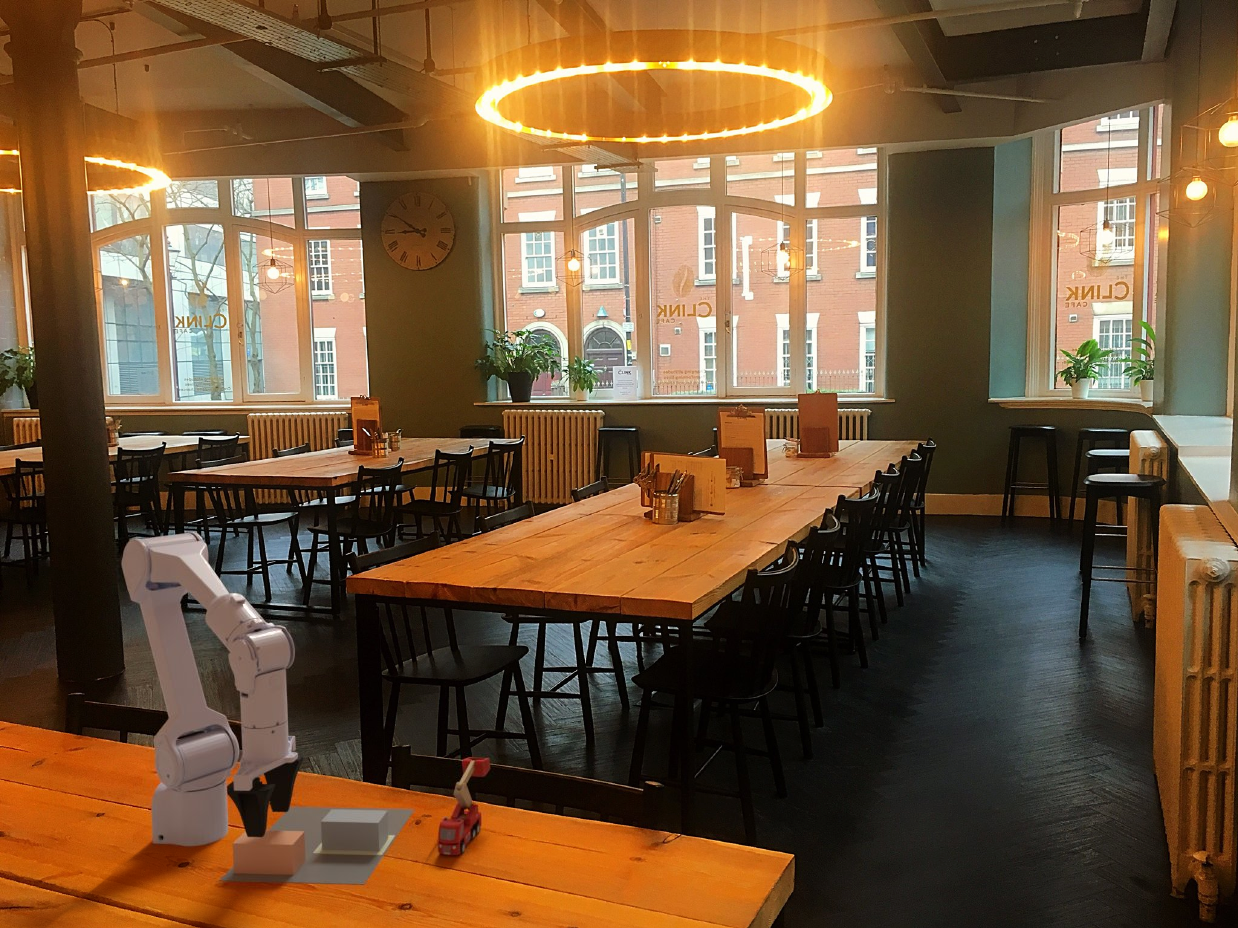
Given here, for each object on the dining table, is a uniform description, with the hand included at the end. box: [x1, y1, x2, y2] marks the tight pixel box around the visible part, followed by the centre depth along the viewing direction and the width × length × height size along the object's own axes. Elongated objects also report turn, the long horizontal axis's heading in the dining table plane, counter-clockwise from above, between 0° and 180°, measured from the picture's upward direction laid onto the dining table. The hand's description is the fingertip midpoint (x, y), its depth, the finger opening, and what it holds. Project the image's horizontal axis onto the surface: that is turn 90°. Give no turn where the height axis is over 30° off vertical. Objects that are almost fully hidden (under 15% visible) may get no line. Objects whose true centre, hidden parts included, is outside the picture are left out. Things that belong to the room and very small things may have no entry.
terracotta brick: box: [232, 829, 306, 875], centre depth 132 cm, size 8×4×4 cm, turn 86°
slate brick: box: [321, 809, 388, 851], centre depth 138 cm, size 8×4×4 cm, turn 85°
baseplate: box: [219, 806, 415, 886], centre depth 139 cm, size 19×23×1 cm
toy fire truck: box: [437, 756, 491, 856], centre depth 143 cm, size 3×14×10 cm, turn 168°
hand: (268, 823), depth 132 cm, fingers open, 7 cm apart
